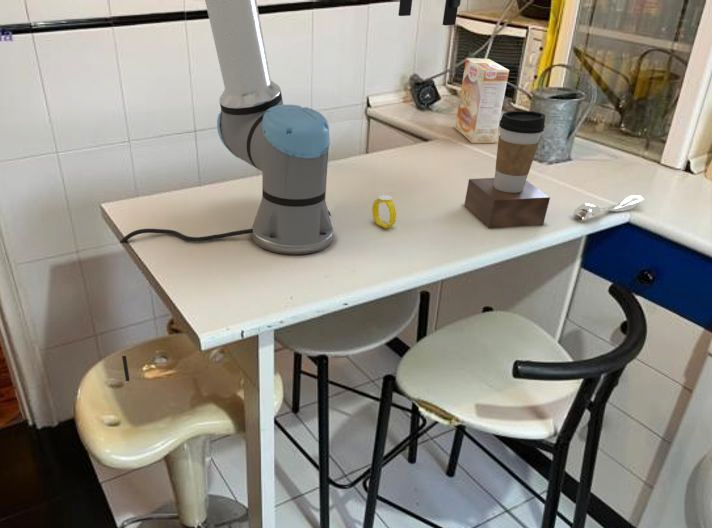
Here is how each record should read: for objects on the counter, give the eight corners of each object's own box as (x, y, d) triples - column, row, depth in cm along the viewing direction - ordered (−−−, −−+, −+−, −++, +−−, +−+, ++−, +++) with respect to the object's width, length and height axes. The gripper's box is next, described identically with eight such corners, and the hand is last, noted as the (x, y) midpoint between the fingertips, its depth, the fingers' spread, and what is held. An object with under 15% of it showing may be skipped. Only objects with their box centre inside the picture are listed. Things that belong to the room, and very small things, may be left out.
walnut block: (488, 228, 131) (494, 200, 128) (464, 205, 141) (468, 178, 138) (543, 225, 133) (550, 197, 130) (515, 202, 143) (520, 176, 140)
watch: (397, 230, 129) (401, 201, 126) (386, 232, 128) (389, 204, 125) (379, 219, 133) (382, 191, 130) (368, 221, 132) (370, 193, 129)
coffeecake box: (453, 127, 192) (465, 57, 182) (477, 127, 193) (489, 58, 183) (471, 143, 180) (484, 69, 169) (496, 143, 180) (510, 69, 170)
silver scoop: (633, 183, 144) (652, 191, 141) (629, 199, 146) (648, 206, 143) (570, 204, 136) (589, 212, 133) (567, 220, 138) (585, 228, 135)
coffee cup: (531, 197, 130) (549, 121, 122) (488, 192, 131) (503, 117, 123) (527, 182, 137) (544, 110, 129) (486, 178, 138) (500, 106, 130)
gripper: (505, -102, 115) (483, 28, 127) (413, -103, 133) (401, 11, 144) (474, -104, 112) (454, 30, 123) (384, -105, 130) (374, 12, 141)
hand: (425, 20), depth 134 cm, fingers open, 13 cm apart
